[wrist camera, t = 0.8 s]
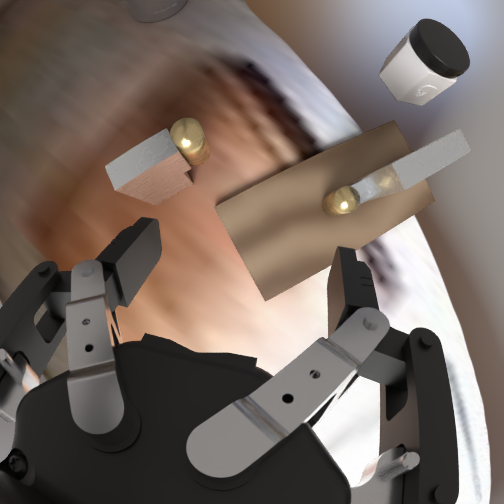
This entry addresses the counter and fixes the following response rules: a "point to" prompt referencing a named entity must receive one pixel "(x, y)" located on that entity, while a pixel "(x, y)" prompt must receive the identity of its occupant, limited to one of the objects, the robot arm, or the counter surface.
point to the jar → (424, 63)
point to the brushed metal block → (160, 163)
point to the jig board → (317, 211)
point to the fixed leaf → (397, 174)
